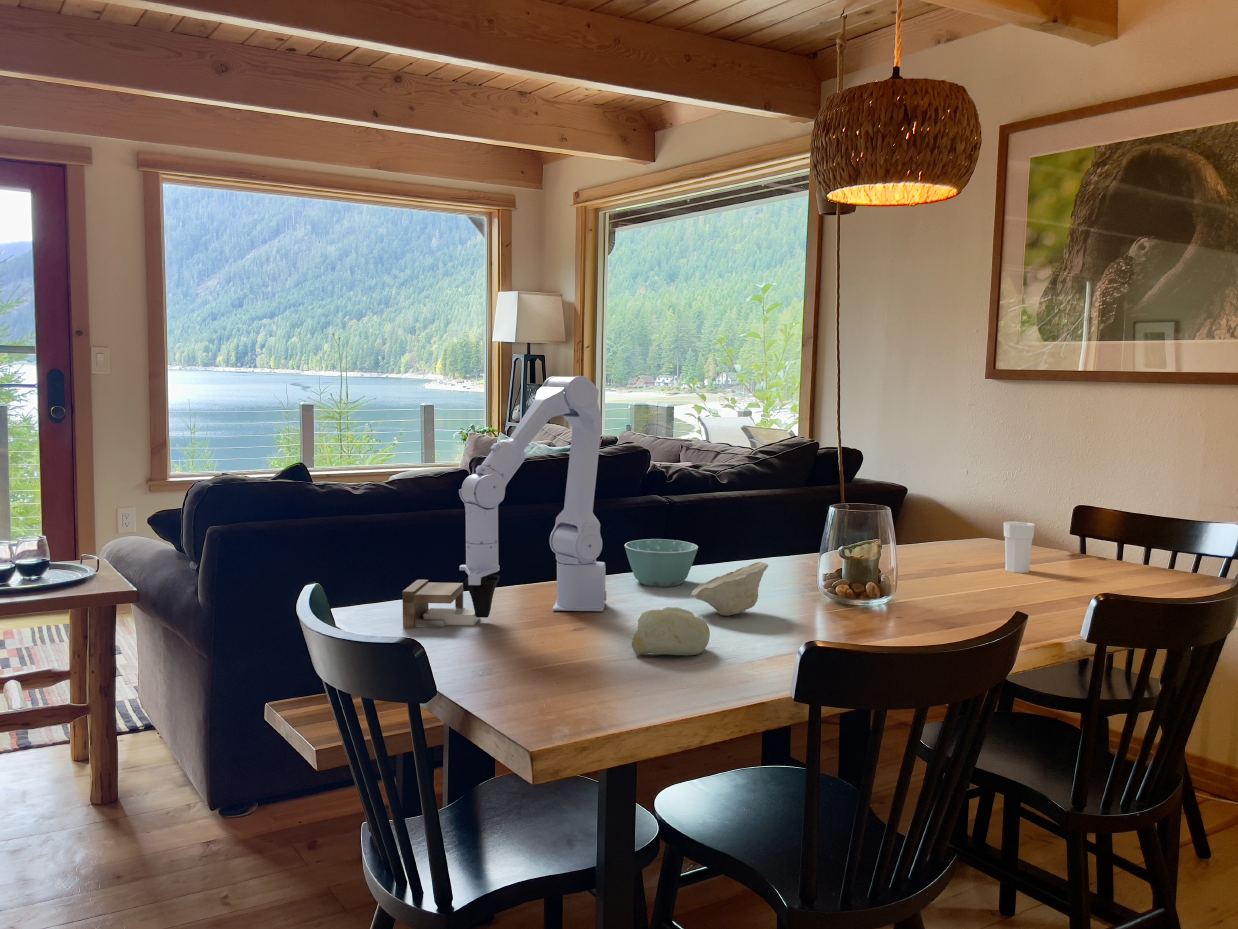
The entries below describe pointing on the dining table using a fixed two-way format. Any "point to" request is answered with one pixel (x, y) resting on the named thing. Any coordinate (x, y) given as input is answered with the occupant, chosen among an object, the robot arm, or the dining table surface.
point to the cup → (1018, 545)
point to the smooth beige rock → (670, 632)
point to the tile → (453, 615)
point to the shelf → (428, 601)
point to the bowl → (660, 561)
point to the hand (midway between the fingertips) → (482, 616)
